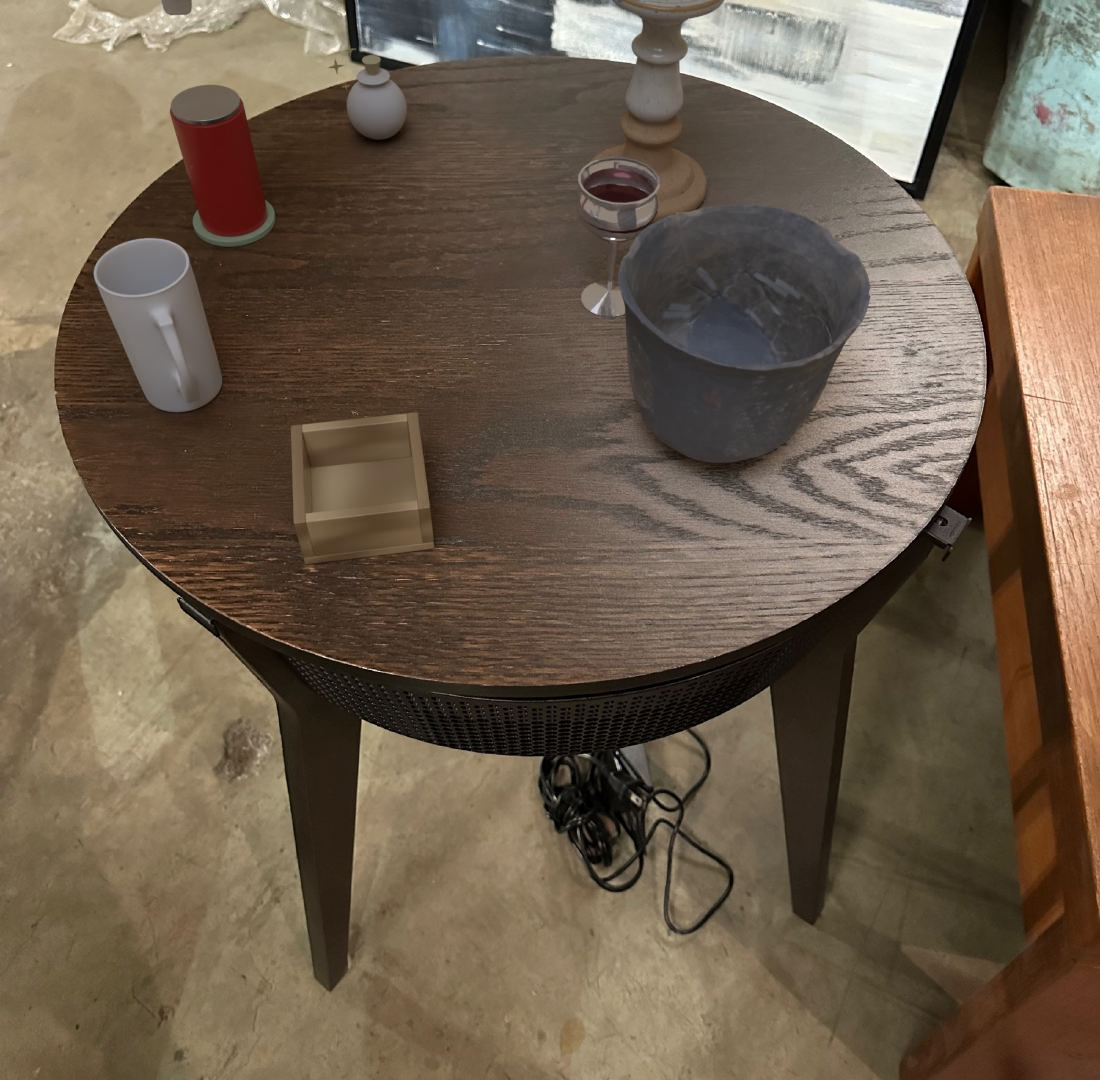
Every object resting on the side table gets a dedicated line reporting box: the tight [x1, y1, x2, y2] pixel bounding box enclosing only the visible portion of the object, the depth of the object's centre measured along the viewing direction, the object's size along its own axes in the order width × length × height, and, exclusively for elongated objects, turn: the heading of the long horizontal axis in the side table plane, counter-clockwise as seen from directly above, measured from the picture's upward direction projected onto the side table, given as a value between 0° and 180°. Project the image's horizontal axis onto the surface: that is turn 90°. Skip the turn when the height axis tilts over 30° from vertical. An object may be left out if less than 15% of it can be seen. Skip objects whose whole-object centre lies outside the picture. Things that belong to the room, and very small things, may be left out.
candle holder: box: [588, 0, 725, 225], centre depth 95 cm, size 12×12×20 cm
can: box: [169, 84, 268, 237], centre depth 93 cm, size 6×6×12 cm
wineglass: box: [575, 157, 660, 318], centre depth 88 cm, size 7×7×12 cm
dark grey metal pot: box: [617, 203, 871, 464], centre depth 77 cm, size 18×18×15 cm
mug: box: [93, 237, 223, 413], centre depth 79 cm, size 10×7×12 cm, turn 28°
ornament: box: [327, 44, 408, 140], centre depth 103 cm, size 6×7×10 cm
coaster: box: [192, 199, 277, 248], centre depth 98 cm, size 8×8×1 cm
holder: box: [290, 411, 435, 565], centre depth 75 cm, size 9×9×5 cm
